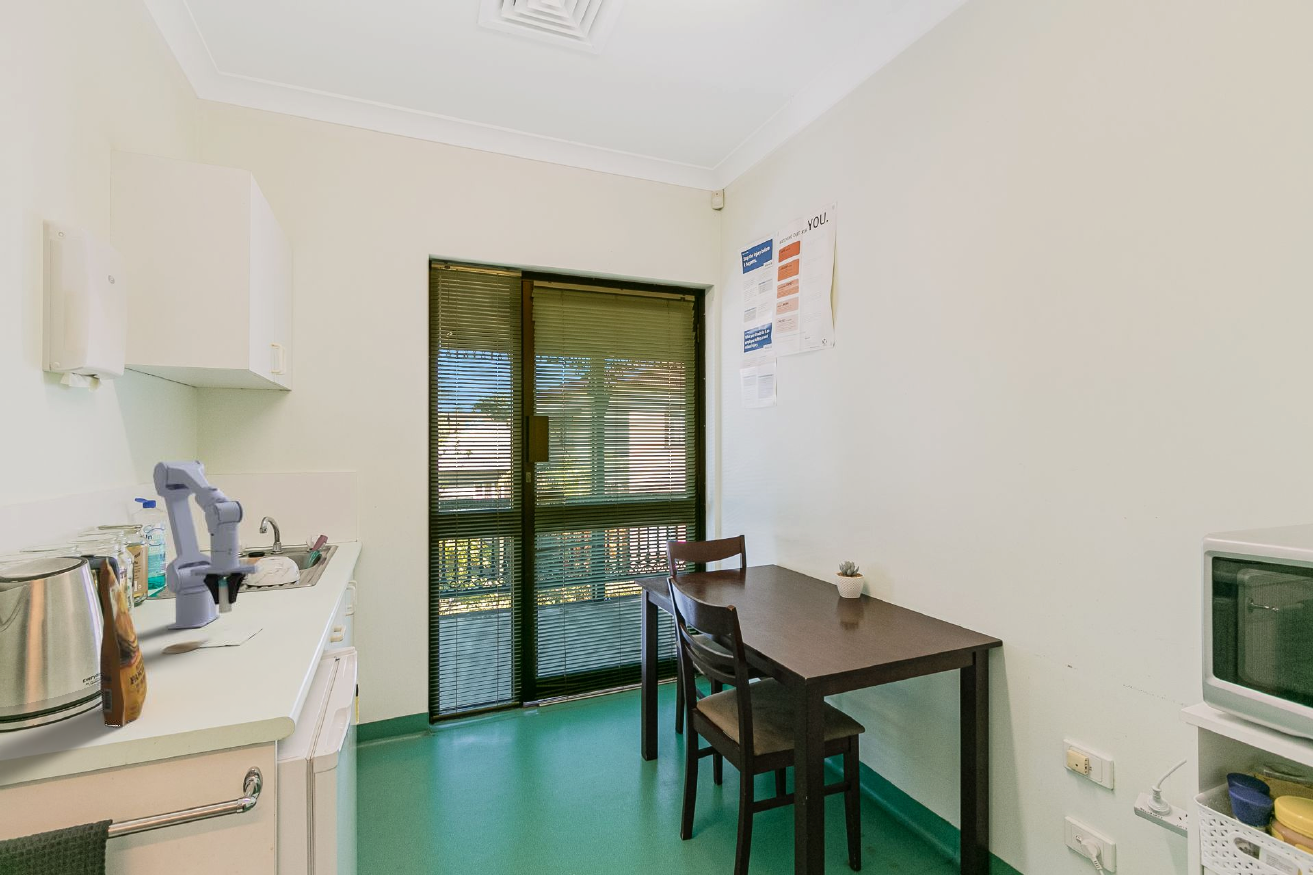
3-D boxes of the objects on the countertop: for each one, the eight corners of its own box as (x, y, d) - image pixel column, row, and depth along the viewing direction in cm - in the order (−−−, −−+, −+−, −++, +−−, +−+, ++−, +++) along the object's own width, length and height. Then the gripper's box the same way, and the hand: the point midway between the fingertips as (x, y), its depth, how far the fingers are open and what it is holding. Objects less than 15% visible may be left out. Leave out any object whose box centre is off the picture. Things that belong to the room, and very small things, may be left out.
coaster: (174, 644, 144) (174, 642, 144) (207, 642, 145) (207, 640, 145) (156, 655, 137) (156, 653, 137) (190, 652, 138) (190, 651, 138)
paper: (224, 631, 153) (224, 630, 153) (263, 629, 155) (263, 628, 155) (197, 648, 141) (197, 647, 141) (239, 645, 143) (239, 644, 143)
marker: (222, 610, 152) (221, 579, 152) (234, 609, 152) (233, 578, 152) (216, 613, 149) (216, 581, 149) (228, 612, 150) (228, 581, 150)
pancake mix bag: (85, 738, 100) (83, 571, 99) (105, 697, 115) (102, 553, 115) (139, 727, 103) (136, 566, 103) (150, 688, 119) (148, 549, 119)
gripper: (182, 554, 145) (183, 609, 146) (248, 551, 148) (249, 605, 148) (199, 548, 152) (200, 601, 152) (261, 546, 155) (262, 598, 155)
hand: (225, 603), depth 151 cm, fingers closed on marker, 3 cm apart
